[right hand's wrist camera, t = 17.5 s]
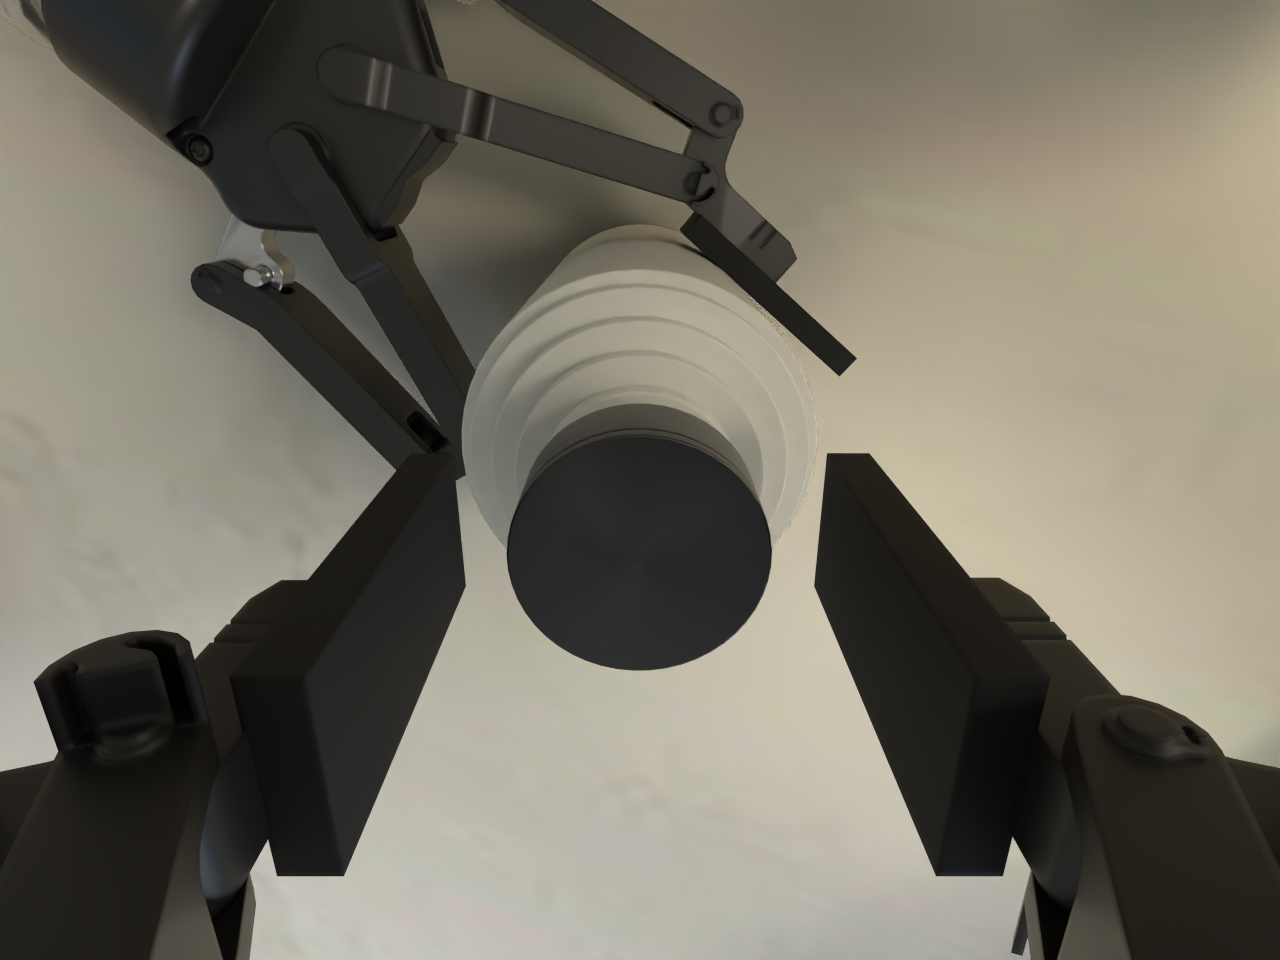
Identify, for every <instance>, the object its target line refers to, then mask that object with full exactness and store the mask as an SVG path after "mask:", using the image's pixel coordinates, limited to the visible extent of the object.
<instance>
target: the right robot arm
mask: <svg viewBox="0 0 1280 960" xmlns="http://www.w3.org/2000/svg"><path fill="white" fill-rule="evenodd" d="M465 587H466V584H465V573H464V563H463V553H462V543H461V532H460V522H459V512H458V501H457V491H456V481H455V471H454V460H453V453H411V454H410V455H409V456H408V457H407V459H406V460H405V461H404V462H403V464H402V465H401V466H400V467H399V468H398V470H397V471H396V472H395V473H394V475H393V476H392V477H391V478H390V480H389V481H388V482H387V483H386V484H385V486H384V487H383V488H382V489H381V491H380V492H379V493H378V494H377V496H376V497H375V498H374V499H373V500H372V502H371V503H370V504H369V505H368V507H367V508H366V509H365V510H364V512H363V513H362V514H361V515H360V516H359V518H358V519H357V520H356V521H355V523H354V524H353V525H352V526H351V527H350V529H349V530H348V531H347V532H346V534H345V535H344V536H343V537H342V539H341V540H340V541H339V542H338V543H337V545H336V546H335V547H334V548H333V550H332V551H331V552H330V553H329V555H328V556H327V557H326V558H325V559H324V561H323V562H322V563H321V564H320V566H319V567H318V568H317V569H316V571H315V572H314V573H313V574H312V575H311V577H310V578H309V579H308V580H281V581H279V582H278V583H276V584H274V585H272V586H271V587H269V588H267V589H266V590H264V591H262V592H261V593H259V594H257V595H256V596H254V597H252V598H251V599H250V600H249V601H248V602H247V603H246V604H245V605H244V606H243V607H242V608H241V609H240V611H239V612H238V613H237V614H236V615H235V616H234V617H233V618H232V619H231V624H227V625H226V626H225V627H224V628H223V629H222V630H221V631H220V632H219V634H218V635H217V636H216V637H215V638H214V643H209V644H208V646H207V647H206V648H205V649H204V650H203V651H202V652H201V653H200V654H199V655H198V657H197V658H196V659H195V660H194V657H193V653H192V649H191V645H190V642H189V641H188V640H187V639H185V638H184V637H182V636H181V635H180V634H178V633H173V632H167V631H161V630H150V631H137V632H129V633H125V634H121V635H117V636H112V637H108V638H104V639H101V640H98V641H96V642H93V643H91V644H88V645H86V646H84V647H81V648H79V649H76V650H74V651H72V652H70V653H69V654H67V655H65V656H64V657H62V658H61V659H59V660H57V661H56V662H54V663H52V664H51V665H49V666H48V667H47V668H46V669H45V670H44V671H43V672H42V674H41V675H40V676H39V677H38V678H37V679H36V680H35V681H34V684H35V687H36V690H37V693H38V696H39V698H40V701H41V704H42V707H43V709H44V712H45V715H46V718H47V721H48V723H49V726H50V729H51V732H52V735H53V737H54V740H55V743H56V746H57V749H58V753H57V755H56V757H55V759H54V760H53V761H50V762H46V763H41V764H36V765H31V766H26V767H21V768H16V769H12V770H7V771H2V772H0V960H249V958H250V949H251V941H252V933H253V925H254V916H255V908H256V901H255V894H254V888H253V884H252V880H251V876H250V871H251V869H252V867H253V865H254V863H255V862H256V860H257V858H258V856H259V854H260V853H261V851H262V849H263V847H264V845H265V844H266V842H267V840H269V844H270V848H271V853H272V857H273V861H274V865H275V869H276V873H277V876H344V874H345V872H346V870H347V867H348V865H349V863H350V860H351V858H352V855H353V853H354V851H355V848H356V846H357V844H358V841H359V839H360V836H361V834H362V832H363V829H364V827H365V824H366V822H367V820H368V817H369V815H370V813H371V810H372V808H373V805H374V803H375V801H376V798H377V796H378V794H379V791H380V789H381V786H382V784H383V782H384V779H385V777H386V775H387V772H388V770H389V767H390V765H391V763H392V760H393V758H394V756H395V753H396V751H397V748H398V746H399V744H400V741H401V739H402V736H403V734H404V732H405V729H406V727H407V725H408V722H409V720H410V717H411V715H412V713H413V710H414V708H415V706H416V703H417V701H418V698H419V696H420V694H421V691H422V689H423V687H424V684H425V682H426V679H427V677H428V675H429V672H430V670H431V667H432V665H433V663H434V660H435V658H436V656H437V653H438V651H439V648H440V646H441V644H442V641H443V639H444V637H445V634H446V632H447V629H448V627H449V625H450V622H451V620H452V618H453V615H454V613H455V610H456V608H457V606H458V603H459V601H460V598H461V596H462V594H463V591H464V589H465ZM814 587H815V589H816V591H817V594H818V596H819V599H820V601H821V603H822V606H823V608H824V610H825V613H826V615H827V618H828V620H829V622H830V625H831V627H832V629H833V632H834V634H835V637H836V639H837V641H838V644H839V646H840V648H841V651H842V653H843V656H844V658H845V660H846V663H847V665H848V667H849V670H850V672H851V675H852V677H853V679H854V682H855V684H856V687H857V689H858V691H859V694H860V696H861V698H862V701H863V703H864V706H865V708H866V710H867V713H868V715H869V717H870V720H871V722H872V725H873V727H874V729H875V732H876V734H877V736H878V739H879V741H880V744H881V746H882V748H883V751H884V753H885V756H886V758H887V760H888V763H889V765H890V767H891V770H892V772H893V775H894V777H895V779H896V782H897V784H898V786H899V789H900V791H901V794H902V796H903V798H904V801H905V803H906V805H907V808H908V810H909V813H910V815H911V817H912V820H913V822H914V825H915V827H916V829H917V832H918V834H919V836H920V839H921V841H922V844H923V846H924V848H925V851H926V853H927V855H928V858H929V860H930V863H931V865H932V867H933V870H934V872H935V874H936V876H1003V873H1004V869H1005V865H1006V861H1007V857H1008V853H1009V848H1010V844H1011V840H1012V836H1013V838H1014V840H1015V841H1016V843H1017V845H1018V847H1019V849H1020V850H1021V852H1022V854H1023V856H1024V858H1025V859H1026V861H1027V863H1028V865H1029V866H1030V868H1031V872H1030V876H1029V880H1028V884H1027V888H1026V892H1025V895H1024V899H1023V903H1022V907H1021V911H1020V915H1019V918H1018V922H1017V926H1016V930H1015V934H1014V939H1013V945H1012V952H1011V953H1014V954H1018V955H1021V956H1022V955H1023V952H1024V948H1025V944H1026V940H1027V938H1028V939H1029V947H1030V955H1031V960H1280V768H1276V767H1271V766H1266V765H1261V764H1256V763H1252V762H1247V761H1242V760H1237V759H1233V758H1229V757H1225V756H1224V754H1223V752H1222V750H1221V749H1220V747H1219V746H1218V745H1217V744H1216V742H1215V741H1214V740H1213V739H1212V737H1211V736H1210V735H1209V734H1208V732H1206V731H1205V730H1203V729H1202V728H1201V727H1199V726H1198V725H1196V724H1195V723H1194V722H1192V721H1191V720H1190V719H1188V718H1187V717H1185V716H1183V715H1181V714H1179V713H1177V712H1175V711H1173V710H1171V709H1168V708H1166V707H1164V706H1162V705H1160V704H1158V703H1154V702H1150V701H1147V700H1143V699H1140V698H1136V697H1133V696H1126V695H1121V694H1120V693H1119V692H1118V691H1117V690H1116V689H1115V688H1114V687H1113V686H1112V684H1111V683H1110V682H1109V681H1108V680H1107V679H1106V678H1105V677H1104V676H1103V675H1102V674H1101V672H1100V671H1099V670H1098V669H1097V668H1096V667H1095V666H1094V665H1093V664H1092V663H1091V662H1090V661H1089V659H1088V658H1087V657H1086V656H1085V655H1084V654H1083V653H1082V652H1081V651H1080V650H1079V649H1078V647H1077V646H1076V645H1075V644H1074V643H1073V642H1072V641H1071V640H1067V639H1066V634H1065V633H1064V632H1063V631H1062V630H1061V629H1060V628H1059V627H1058V626H1057V625H1056V624H1055V622H1050V617H1049V616H1048V615H1047V614H1046V613H1045V612H1044V610H1043V609H1042V608H1041V607H1040V606H1039V605H1038V604H1037V603H1036V602H1035V601H1034V600H1033V599H1032V597H1031V596H1029V595H1028V594H1026V593H1024V592H1022V591H1021V590H1019V589H1017V588H1016V587H1014V586H1012V585H1011V584H1009V583H1007V582H1006V581H1004V580H1002V579H1000V578H970V577H969V575H968V574H967V573H966V572H965V571H964V569H963V568H962V567H961V566H960V564H959V563H958V562H957V561H956V559H955V558H954V557H953V556H952V555H951V553H950V552H949V551H948V550H947V548H946V547H945V546H944V545H943V543H942V542H941V541H940V540H939V539H938V537H937V536H936V535H935V534H934V532H933V531H932V530H931V529H930V527H929V526H928V525H927V524H926V523H925V521H924V520H923V519H922V518H921V516H920V515H919V514H918V513H917V512H916V510H915V509H914V508H913V507H912V505H911V504H910V503H909V502H908V500H907V499H906V498H905V497H904V496H903V494H902V493H901V492H900V491H899V489H898V488H897V487H896V486H895V484H894V483H893V482H892V481H891V480H890V478H889V477H888V476H887V475H886V473H885V472H884V471H883V470H882V468H881V467H880V466H879V465H878V464H877V462H876V461H875V460H874V459H873V457H872V456H871V455H870V454H869V453H827V460H826V471H825V481H824V491H823V501H822V512H821V522H820V532H819V543H818V553H817V563H816V573H815V584H814Z"/></svg>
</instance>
